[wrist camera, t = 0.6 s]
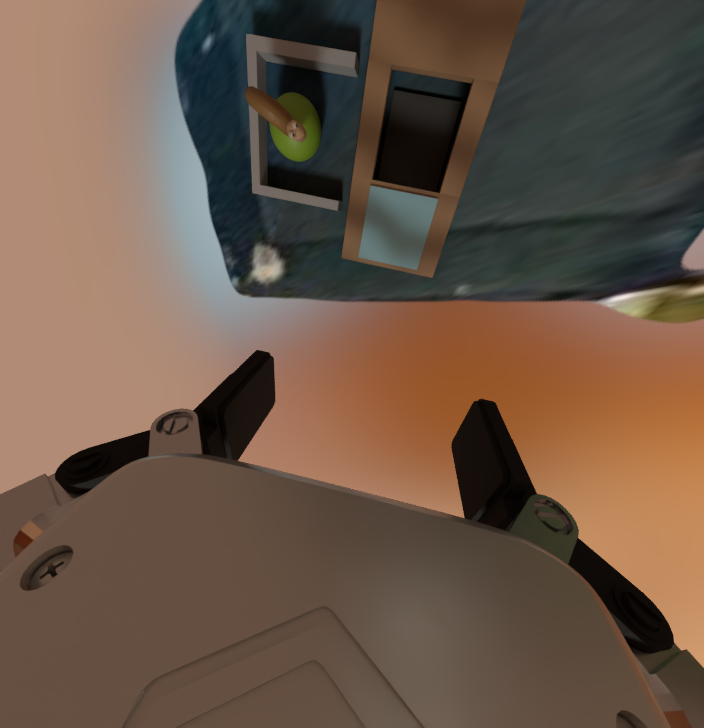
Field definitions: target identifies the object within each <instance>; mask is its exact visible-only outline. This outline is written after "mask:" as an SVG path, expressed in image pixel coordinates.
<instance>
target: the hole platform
mask: <svg viewBox="0 0 704 728" xmlns="http://www.w3.org/2000/svg"><path fill="white" fill-rule="evenodd" d="M525 3H526V0H377V4H376V11H375V18H374V25H373V33H372V40H371V47H370V54H369V62H368V69H367V76H366V84H365V91H364V98H363V105H362V113H361V120H360V127H359V134H358V142H357V149H356V156H355V163H354V171H353V178H352V185H351V193H350V200H349V207H348V214H347V222H346V229H345V236H344V243H343V251H342V258H344V259H349V260H353V261H358V262H362V263H367V264H372V265H376V266H381V267H385V268H390V269H394V270H399V271H403V272H408V273H413V274H417V275H422V276H426V277H431V278H432V277H433V275H434V272H435V269H436V266H437V263H438V260H439V257H440V254H441V251H442V248H443V245H444V242H445V239H446V236H447V233H448V230H449V227H450V224H451V221H452V219H453V216H454V213H455V210H456V207H457V204H458V201H459V198H460V195H461V192H462V189H463V186H464V183H465V180H466V177H467V174H468V171H469V168H470V165H471V162H472V160H473V157H474V154H475V151H476V148H477V145H478V142H479V139H480V136H481V133H482V130H483V127H484V124H485V121H486V118H487V115H488V112H489V109H490V106H491V104H492V101H493V98H494V95H495V92H496V89H497V86H498V83H499V80H500V77H501V74H502V71H503V68H504V65H505V62H506V59H507V56H508V53H509V50H510V48H511V45H512V42H513V39H514V36H515V33H516V30H517V27H518V24H519V21H520V18H521V15H522V12H523V9H524V6H525ZM392 70H398V71H404V72H409V73H415V74H421V75H427V76H432V77H438V78H444V79H450V80H455V81H461V82H467V83H472V84H471V88H470V91H469V94H468V98H467V101H466V104H465V108H464V111H463V114H462V118H461V121H460V124H459V128H458V131H457V134H456V138H455V141H454V144H453V148H452V151H451V154H450V158H449V161H448V164H447V168H446V171H445V175H444V178H443V181H442V185H441V188H440V191H439V193H436V192H435V191H436V188H437V185H438V181H439V178H440V174H441V171H442V167H443V164H444V161H445V157H446V154H447V150H448V147H449V143H450V140H451V137H452V133H453V130H454V126H455V123H456V119H457V116H458V113H459V109H460V106H461V102H459V101H453V100H448V99H442V98H436V97H431V96H425V95H420V94H414V93H408V92H403V91H397V90H394V94H393V99H392V105H391V110H390V116H389V121H388V126H387V132H386V137H385V143H384V148H383V154H382V159H381V165H380V170H379V176H378V181H376V180H373V177H374V171H375V166H376V160H377V154H378V148H379V143H380V137H381V131H382V125H383V120H384V114H385V108H386V103H387V97H388V91H389V85H390V80H391V74H392Z"/></svg>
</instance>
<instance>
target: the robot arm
mask: <svg viewBox="0 0 704 728" xmlns="http://www.w3.org/2000/svg"><path fill="white" fill-rule="evenodd" d="M274 380H275V379H274V358H273V357H272V356H271V355H270V353H269V352H264V351H259V350H256V351H255V352H254V353H253V354H252V355H251V356H250V357H249V358H248V359H247V360H246V361H245V362H244V363H243V364H242V365H241V366H240V367H239V368H238V369H237V370H236V371H235V372H234V373H232V374H231V375H229V376H228V377H227V378H226V379H225V380H224V381H223V382H222V383H221V384H220V385H219V386H218V387H217V388H216V389H215V390H214V391H213V392H212V393H211V394H210V395H209V396H208V397H207V398H206V399H205V400H204V401H203V402H202V403H201V404H199V405H198V407H196V408H195V410H193V411H192V410H188V409H176V410H172V411H169V412H166V413H164V414H162V415H161V416H159V417H158V418H157V419H156V420H155V421H154V422H153V423H152V426H151V429H150V430H148V431H145V432H142V433H138V434H135V435H131V436H128V437H124V438H121V439H118V440H114V441H111V442H108V443H104V444H101V445H97V446H94V447H90V448H87V449H85V450H82V451H80V452H78V453H76V454H74V455H72V456H71V457H69V458H68V459H67V460H65V461H64V462H63V463H62V464H61V465H60V466H59V467H58V469H57V471H56V473H55V474H53V475H50V476H49V477H48V476H47V475H46V474H43V475H41V476H39V477H37V478H35V479H32V480H30V481H28V482H26V483H24V484H22V485H20V486H17V487H15V488H13V489H11V490H9V491H7V492H4V493H3V494H0V728H704V668H703V667H702V666H701V665H700V664H699V662H698V661H697V660H696V659H695V658H694V657H693V656H692V655H691V654H690V653H689V652H688V651H687V650H682V651H681V650H680V649H679V648H678V647H677V646H676V644H675V643H674V639H673V633H672V631H671V628H670V626H669V624H668V622H667V621H666V619H665V617H664V616H663V615H662V613H661V612H660V610H659V609H658V608H657V607H656V605H655V604H654V603H653V602H652V601H651V600H650V599H649V598H648V597H647V596H646V595H645V594H644V593H643V592H641V591H640V590H639V589H638V588H637V587H635V586H634V585H633V584H632V583H631V582H630V581H628V580H627V579H626V578H625V577H624V576H622V575H621V574H620V573H619V572H618V571H617V570H615V569H614V568H613V567H612V566H611V565H609V564H608V563H607V562H606V561H605V560H604V559H602V558H601V557H600V556H599V555H598V554H596V553H595V552H594V551H593V550H592V549H590V548H589V547H588V546H587V545H586V544H585V543H583V542H582V541H581V540H580V539H579V538H578V531H579V530H578V527H577V524H576V522H575V520H574V518H573V517H572V515H571V514H570V513H569V512H568V511H567V510H566V509H565V508H564V507H563V506H562V505H561V504H560V503H558V502H557V501H555V500H553V499H552V498H550V497H547V496H545V495H540V494H537V493H536V491H535V489H534V486H533V484H532V482H531V480H530V478H529V476H528V473H527V471H526V469H525V467H524V464H523V462H522V460H521V458H520V455H519V453H518V451H517V449H516V447H515V445H514V443H513V440H512V439H511V436H510V434H509V432H508V430H507V428H506V425H505V423H504V421H503V419H502V417H501V414H500V412H499V410H498V408H497V405H496V403H495V402H493V401H488V400H484V399H479V400H478V401H474V402H473V404H472V406H471V407H470V409H469V411H468V413H467V415H466V417H465V419H464V421H463V422H462V424H461V426H460V428H459V430H458V431H457V434H456V435H455V437H454V439H453V441H452V452H453V458H454V463H455V469H456V474H457V479H458V485H459V490H460V495H461V501H462V506H463V511H464V517H465V518H461V517H457V516H454V515H450V514H447V513H443V512H439V511H435V510H431V509H427V508H424V507H419V506H416V505H412V504H408V503H404V502H400V501H397V500H393V499H389V498H385V497H381V496H377V495H373V494H369V493H365V492H361V491H357V490H354V489H350V488H345V487H342V486H338V485H334V484H329V483H326V482H322V481H318V480H314V479H310V478H306V477H302V476H298V475H294V474H290V473H285V472H281V471H277V470H274V469H270V468H266V467H261V466H257V465H253V464H248V463H244V462H240V461H238V459H239V458H240V456H241V455H242V453H243V452H244V450H245V449H246V447H247V446H248V444H249V443H250V441H251V440H252V438H253V436H254V435H255V433H256V432H257V430H258V429H259V427H260V426H261V424H262V423H263V421H264V420H265V418H266V417H267V415H268V413H269V412H270V411H271V409H272V408H273V406H274V403H275V382H274Z"/></svg>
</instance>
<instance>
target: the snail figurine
mask: <svg viewBox="0 0 704 728" xmlns="http://www.w3.org/2000/svg"><path fill="white" fill-rule="evenodd" d="M245 96H246V100H247V102H248V103H249V105H250V106H251V107H252V108H253V109H254V110H256V111H257V112H258V113H259V114H260V115H261V116H263V117H264V118H265V119H266V120H268V121H269V122H270V131H271V135H272V138H273V141H274V143H275V145H276V147H277V148H278V149H279V151H280V152H281V153H282V154H283V155H284V156H285V157H287V158H288V159H290V160H293V161H299V162H300V161H305V160H308V159H309V158H311V157H312V156H313V155H314V154H315V152H316V151H317V149H318V147H319V144H320V140H321V124H320V119H319V116H318V114H317V111H316V109H315V108H314V106H313V105H312V103H311V102H310V101H309V100H308V99H307V98H305V97H304V96H302V95H301V94H298V93H293V92H290V93H285V94H283V95H281V96H280V97H279V98H278V99H277V100H275V99H273V98H272V97H271V96H269V95H268V94H266V93H265V92H264V91H262V90H261V89H257V88H255V87H253V86H249V87H247V89H246V91H245Z"/></svg>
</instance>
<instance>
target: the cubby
mask: <svg viewBox="0 0 704 728" xmlns="http://www.w3.org/2000/svg"><path fill="white" fill-rule="evenodd" d="M246 43H247V67H248V87H249V86H253V87H255V88H257V89H261V90H262V91H264V92H265V93H266V94H267V64H266V61H267V62H273V63H278V64H284V65H290V66H295V67H301V68H307V69H312V70H318V71H323V72H329V73H335V74H340V75H346V76H352V77H357V78H358V73H359V65H360V63H359V60H358V57H357V54H356V52H350V51H344V50H338V49H333V48H327V47H321V46H315V45H309V44H303V43H298V42H292V41H286V40H280V39H274V38H268V37H263V36H257V35H251V34H246ZM249 117H250V142H251V166H252V191H253V193H255V194H260V195H265V196H269V197H274V198H279V199H284V200H289V201H293V202H298V203H303V204H308V205H313V206H317V207H322V208H327V209H332V210H337V211H340V210H341V209H342V201H338V200H333V199H328V198H323V197H319V196H314V195H309V194H304V193H299V192H294V191H289V190H285V189H280V188H275V187H270V186H268V145H267V120H266V119H265V118H264V117H263V116H261V115H260V114H259V113H258V112H257V111H256V110H254V109H253V108H252V107H251V106H250V105H249Z"/></svg>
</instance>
